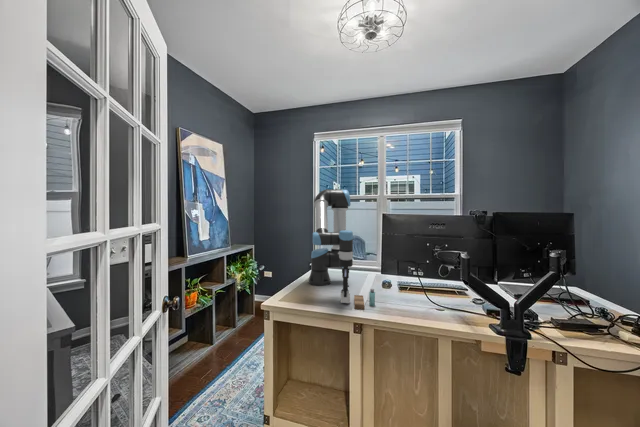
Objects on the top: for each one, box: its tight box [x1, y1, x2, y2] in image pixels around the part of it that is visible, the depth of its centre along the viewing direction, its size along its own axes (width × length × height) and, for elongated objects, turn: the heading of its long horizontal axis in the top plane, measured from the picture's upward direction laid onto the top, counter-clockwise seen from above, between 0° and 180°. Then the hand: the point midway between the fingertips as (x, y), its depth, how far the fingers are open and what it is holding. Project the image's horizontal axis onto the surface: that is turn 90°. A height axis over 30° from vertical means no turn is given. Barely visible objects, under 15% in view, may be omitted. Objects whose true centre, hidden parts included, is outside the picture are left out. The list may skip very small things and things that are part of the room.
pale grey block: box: [340, 288, 351, 304], centre depth 148 cm, size 5×5×6 cm
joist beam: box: [353, 294, 365, 310], centre depth 146 cm, size 14×5×2 cm, turn 174°
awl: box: [368, 288, 376, 307], centre depth 145 cm, size 3×3×8 cm
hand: (345, 300), depth 148 cm, fingers closed on pale grey block, 5 cm apart
